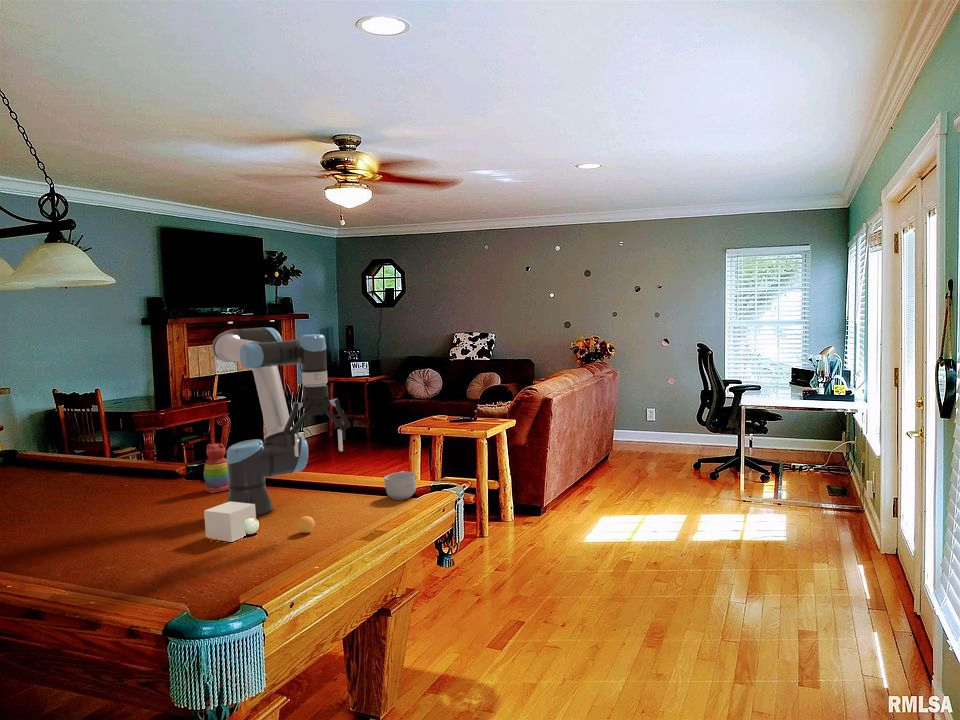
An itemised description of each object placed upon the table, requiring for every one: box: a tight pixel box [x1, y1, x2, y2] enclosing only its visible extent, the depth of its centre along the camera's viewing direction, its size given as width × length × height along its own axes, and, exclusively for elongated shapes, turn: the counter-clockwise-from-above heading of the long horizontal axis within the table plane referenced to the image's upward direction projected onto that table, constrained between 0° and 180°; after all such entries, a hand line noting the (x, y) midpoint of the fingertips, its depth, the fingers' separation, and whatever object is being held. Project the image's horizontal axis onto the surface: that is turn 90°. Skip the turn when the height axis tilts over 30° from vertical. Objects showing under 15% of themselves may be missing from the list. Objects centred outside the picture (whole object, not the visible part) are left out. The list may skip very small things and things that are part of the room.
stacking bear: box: [203, 443, 229, 491], centre depth 277 cm, size 11×10×18 cm
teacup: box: [383, 470, 417, 501], centre depth 257 cm, size 14×11×8 cm
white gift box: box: [203, 501, 257, 542], centre depth 220 cm, size 10×10×9 cm
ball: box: [297, 515, 316, 534], centre depth 220 cm, size 5×5×5 cm
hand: (319, 453), depth 228 cm, fingers open, 13 cm apart
